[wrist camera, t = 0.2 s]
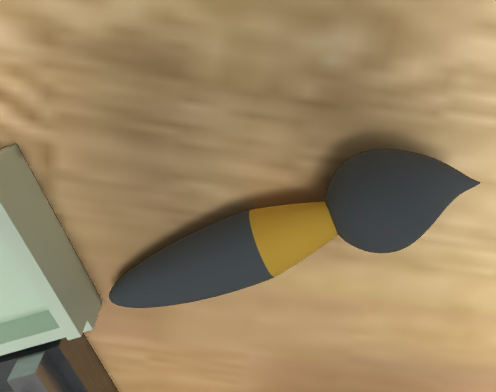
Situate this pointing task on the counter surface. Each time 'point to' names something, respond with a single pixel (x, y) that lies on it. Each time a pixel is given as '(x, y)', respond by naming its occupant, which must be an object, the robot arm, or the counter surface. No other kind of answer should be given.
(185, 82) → the counter surface
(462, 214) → the counter surface
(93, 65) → the counter surface
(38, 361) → the slot board
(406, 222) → the paintbrush
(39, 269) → the chip tray
